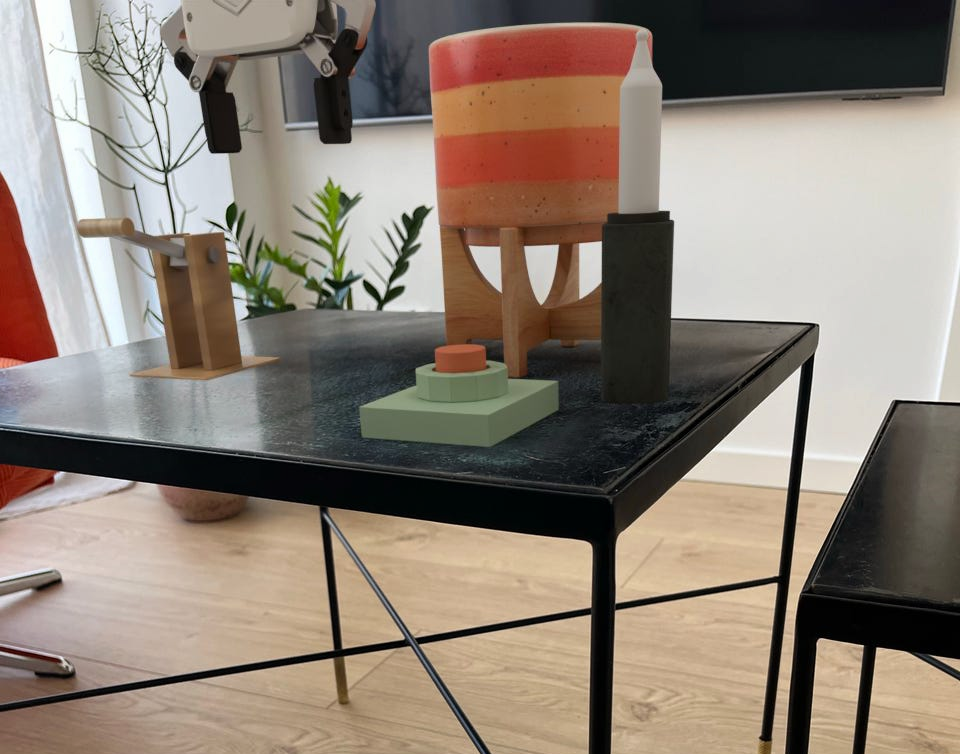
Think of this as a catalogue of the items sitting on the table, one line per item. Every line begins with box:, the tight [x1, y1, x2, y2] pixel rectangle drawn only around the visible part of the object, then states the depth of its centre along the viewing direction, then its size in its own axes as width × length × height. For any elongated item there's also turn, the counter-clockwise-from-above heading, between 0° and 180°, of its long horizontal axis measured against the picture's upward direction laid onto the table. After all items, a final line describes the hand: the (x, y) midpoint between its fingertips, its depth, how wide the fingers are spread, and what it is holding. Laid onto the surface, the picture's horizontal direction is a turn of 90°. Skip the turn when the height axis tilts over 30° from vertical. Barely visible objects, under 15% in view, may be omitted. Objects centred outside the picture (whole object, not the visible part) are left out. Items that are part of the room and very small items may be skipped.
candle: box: [600, 29, 675, 404], centre depth 75 cm, size 5×5×25 cm
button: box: [434, 343, 487, 373], centre depth 72 cm, size 4×4×2 cm
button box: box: [358, 360, 560, 448], centre depth 73 cm, size 12×10×4 cm
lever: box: [76, 217, 189, 272], centre depth 88 cm, size 12×5×2 cm, turn 154°
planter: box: [428, 22, 653, 379], centre depth 92 cm, size 20×20×27 cm
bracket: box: [129, 231, 281, 381], centre depth 94 cm, size 11×9×13 cm
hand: (279, 148), depth 73 cm, fingers open, 9 cm apart
